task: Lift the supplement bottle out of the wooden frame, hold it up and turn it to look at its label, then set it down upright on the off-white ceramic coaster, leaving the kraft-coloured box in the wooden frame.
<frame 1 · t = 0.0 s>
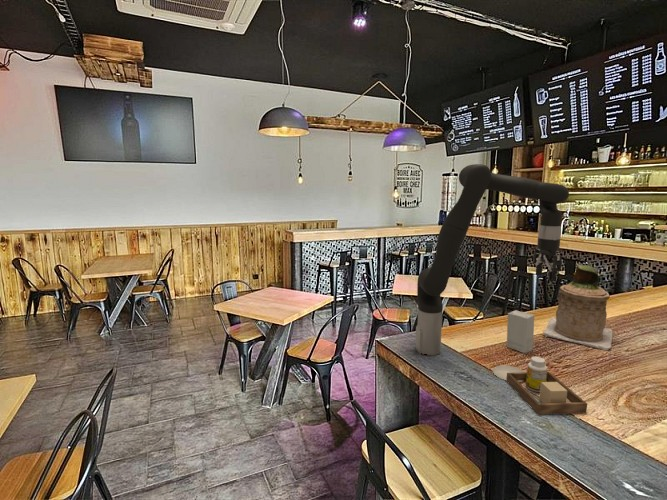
hand: (544, 278, 148), 29 cm above the table, tool pointing down, fingers open, 8 cm apart
coaster: (509, 374, 133), on the table
wooden frame: (543, 395, 120), on the table
skincare box: (518, 348, 153), on the table
supplement bottle: (535, 388, 124), resting in wooden frame
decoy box: (551, 404, 115), resting in wooden frame
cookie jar: (577, 335, 166), on the table
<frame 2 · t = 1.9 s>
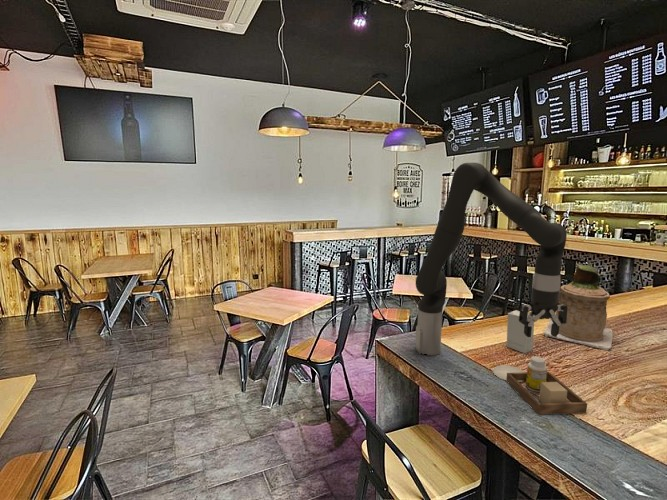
hand: (540, 336, 121), 18 cm above the table, tool pointing down, fingers open, 8 cm apart
nothing on the table moved.
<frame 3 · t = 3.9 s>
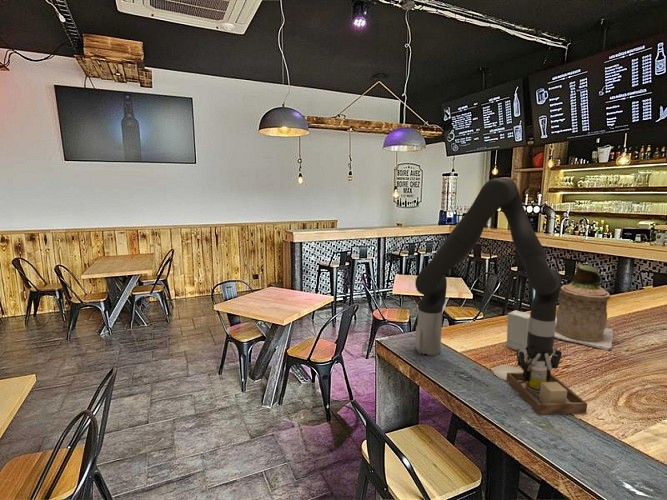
hand: (536, 379, 124), 3 cm above the table, tool pointing down, fingers closed on supplement bottle, 5 cm apart
supplement bottle: (535, 388, 124), resting in wooden frame, touching gripper
everything else where it was.
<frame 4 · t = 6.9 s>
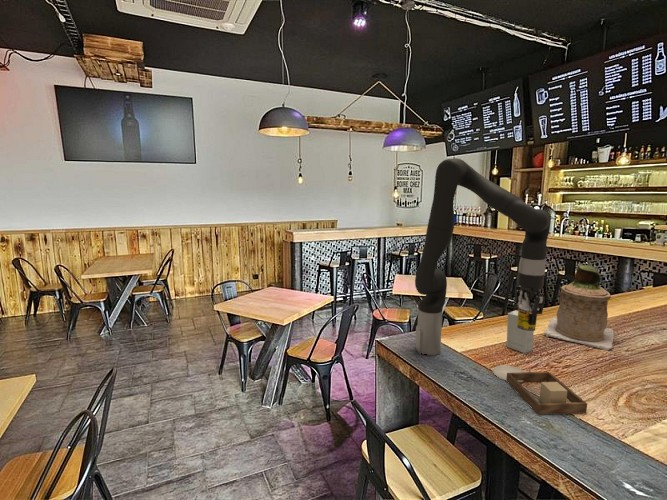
hand: (526, 320, 125), 21 cm above the table, tool pointing down, fingers closed on supplement bottle, 5 cm apart
supplement bottle: (525, 330, 126), point 18 cm above the table, touching gripper
everything else where it was.
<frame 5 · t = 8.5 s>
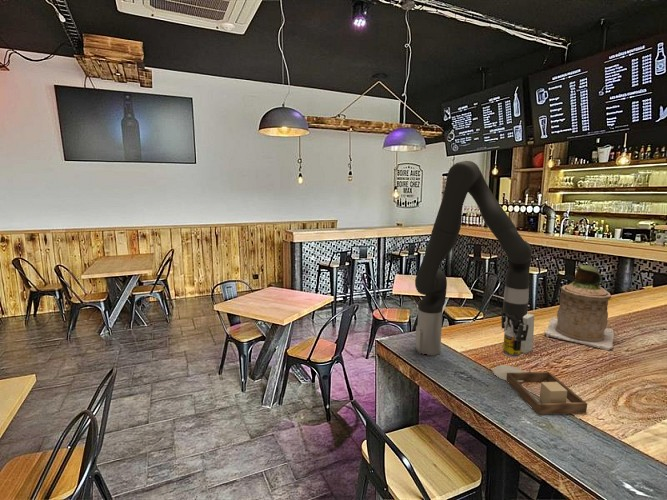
hand: (512, 346, 131), 11 cm above the table, tool pointing down, fingers closed on supplement bottle, 5 cm apart
supplement bottle: (511, 355, 131), point 7 cm above the table, touching gripper
everything else where it was.
when the fingers open (5 cm above the table, at t = 9.8 s): supplement bottle drops 1 cm, resting on coaster.
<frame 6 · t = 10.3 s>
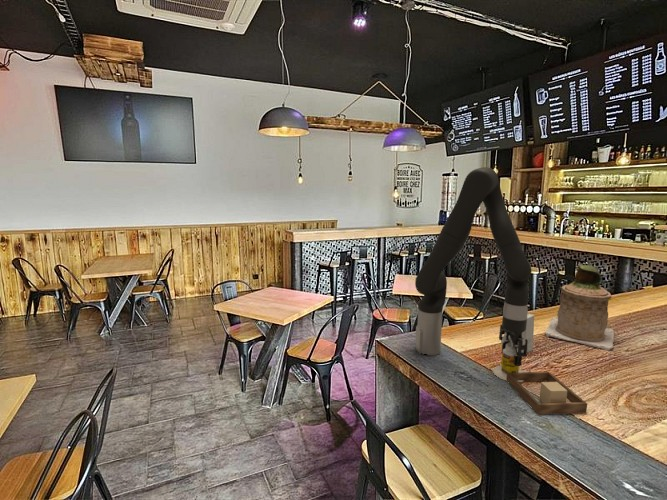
hand: (510, 359, 132), 6 cm above the table, tool pointing down, fingers open, 8 cm apart
supplement bottle: (509, 373, 133), resting on coaster
everything else where it was.
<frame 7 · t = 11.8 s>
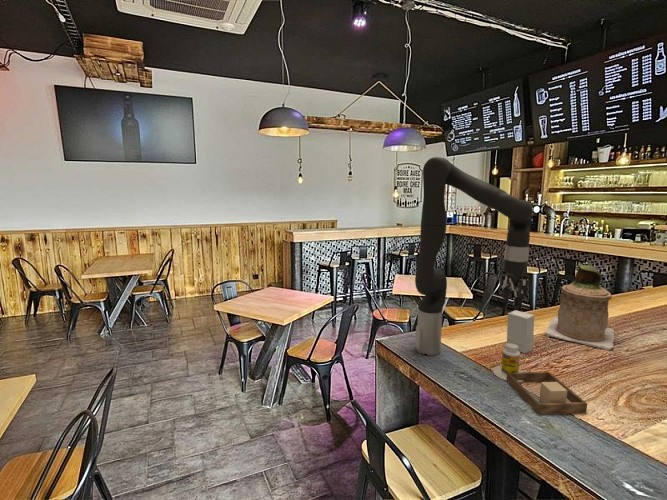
hand: (511, 303, 134), 24 cm above the table, tool pointing down, fingers open, 8 cm apart
nothing on the table moved.
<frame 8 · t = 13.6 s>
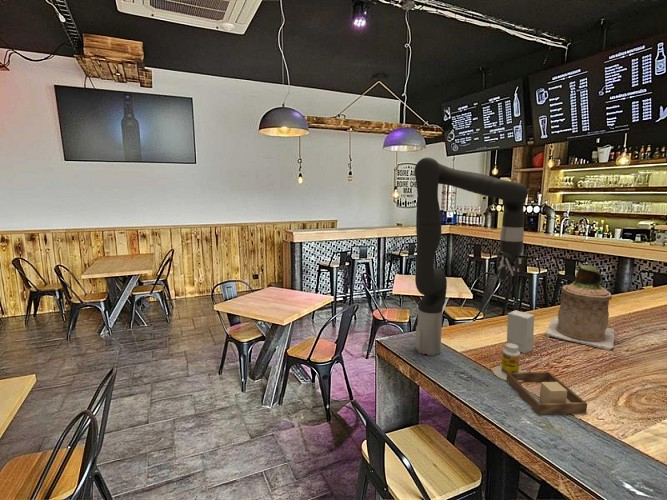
hand: (507, 282, 139), 30 cm above the table, tool pointing down, fingers open, 8 cm apart
nothing on the table moved.
at the end: supplement bottle 0.1 cm from the coaster (horizontally); supplement bottle tilted 0°; the gripper is holding nothing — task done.
